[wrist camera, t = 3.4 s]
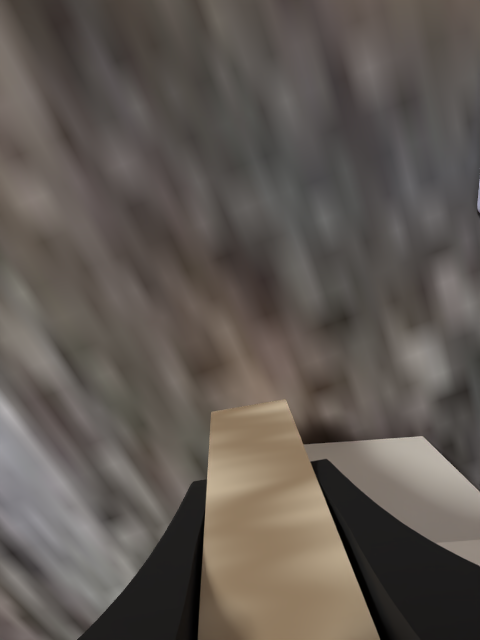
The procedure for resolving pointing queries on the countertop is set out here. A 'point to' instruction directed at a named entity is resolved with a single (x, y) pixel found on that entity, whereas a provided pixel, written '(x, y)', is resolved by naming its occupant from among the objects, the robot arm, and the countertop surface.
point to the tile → (412, 488)
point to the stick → (272, 538)
